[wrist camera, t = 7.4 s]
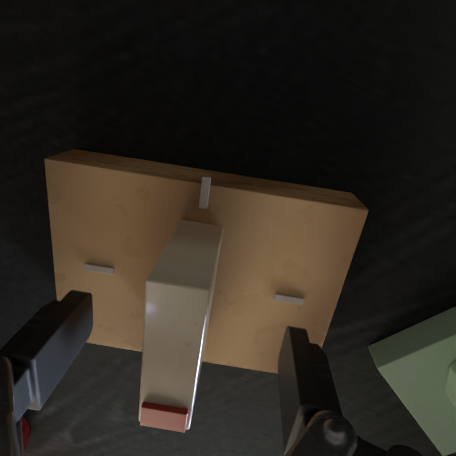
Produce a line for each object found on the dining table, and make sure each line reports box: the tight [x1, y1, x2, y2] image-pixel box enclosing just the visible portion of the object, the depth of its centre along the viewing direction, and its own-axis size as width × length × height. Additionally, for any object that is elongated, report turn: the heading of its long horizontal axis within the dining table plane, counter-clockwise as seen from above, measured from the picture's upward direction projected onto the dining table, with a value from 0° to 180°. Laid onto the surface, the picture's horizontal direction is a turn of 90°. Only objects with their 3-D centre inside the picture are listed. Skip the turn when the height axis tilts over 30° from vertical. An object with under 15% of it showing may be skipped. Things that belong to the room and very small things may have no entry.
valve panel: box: [44, 149, 369, 373], centre depth 17 cm, size 14×11×3 cm
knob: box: [139, 220, 224, 432], centre depth 13 cm, size 6×2×5 cm, turn 171°
